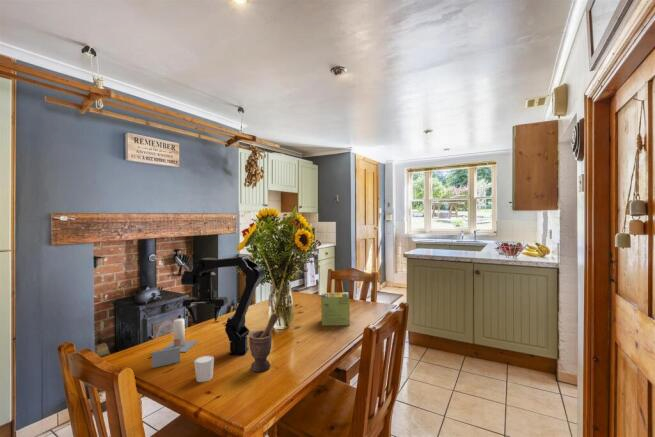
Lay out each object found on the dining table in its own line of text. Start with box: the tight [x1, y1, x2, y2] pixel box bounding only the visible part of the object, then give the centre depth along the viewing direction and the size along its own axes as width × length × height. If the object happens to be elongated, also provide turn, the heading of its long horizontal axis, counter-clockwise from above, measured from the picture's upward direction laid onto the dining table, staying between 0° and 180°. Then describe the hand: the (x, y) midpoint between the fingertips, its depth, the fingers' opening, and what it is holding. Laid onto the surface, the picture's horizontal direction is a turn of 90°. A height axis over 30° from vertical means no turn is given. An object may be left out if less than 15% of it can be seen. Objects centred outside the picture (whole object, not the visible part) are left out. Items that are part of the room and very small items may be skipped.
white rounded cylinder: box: [173, 317, 186, 348], centre depth 144 cm, size 5×5×12 cm
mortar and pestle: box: [248, 313, 279, 373], centre depth 123 cm, size 12×9×20 cm
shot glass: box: [193, 355, 215, 383], centre depth 115 cm, size 7×7×7 cm
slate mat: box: [161, 340, 199, 354], centre depth 144 cm, size 12×12×1 cm
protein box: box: [320, 291, 351, 326], centre depth 173 cm, size 10×15×16 cm
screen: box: [151, 346, 181, 369], centre depth 127 cm, size 10×1×6 cm, turn 118°
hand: (205, 320), depth 140 cm, fingers open, 9 cm apart
